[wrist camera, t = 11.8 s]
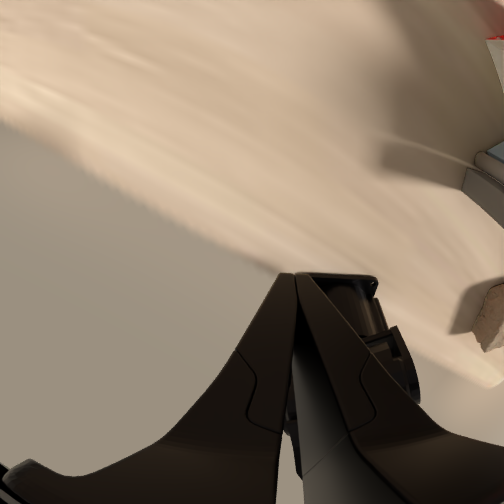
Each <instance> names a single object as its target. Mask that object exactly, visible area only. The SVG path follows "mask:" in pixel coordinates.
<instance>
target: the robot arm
mask: <svg viewBox="0 0 504 504" xmlns="http://www.w3.org/2000/svg"><path fill="white" fill-rule="evenodd" d="M372 282H374V283H373V284H371V283H372ZM377 287H378V280H377V278H376V277H364V276H342V275H322V274H295V275H293V274H292V273H279V275H278V276H277V278H276V280H275V282H274V283H273V285H272V287H271V289H270V291H269V292H268V294H267V296H266V297H265V299H264V301H263V303H262V304H261V306H260V308H259V309H258V311H257V313H256V315H255V316H254V318H253V320H252V321H251V323H250V325H249V327H248V328H247V330H246V331H245V333H244V335H243V337H242V338H241V340H240V342H239V343H238V345H237V347H236V348H235V351H233V353H232V355H231V356H230V358H229V359H228V361H227V363H226V364H225V366H224V367H223V369H222V370H221V372H220V373H219V375H218V376H217V377H216V379H215V380H214V381H213V382H212V384H211V385H210V386H209V387H208V389H207V390H206V391H205V392H204V393H203V395H202V396H201V397H200V398H199V399H198V400H197V401H196V402H195V404H194V405H193V406H192V407H191V408H190V409H189V410H188V412H187V413H186V414H185V415H184V416H183V417H182V418H181V419H180V420H179V422H178V423H177V424H176V425H175V426H174V427H173V428H172V429H171V430H170V431H169V432H168V433H167V434H166V435H165V436H163V437H162V438H161V439H160V440H158V441H157V442H155V443H154V444H152V445H150V446H148V447H146V448H144V449H142V450H140V451H138V452H136V453H134V454H132V455H130V456H128V457H126V458H124V459H122V460H120V461H118V462H116V463H114V464H111V465H110V466H107V467H105V468H103V469H101V470H98V471H96V472H93V473H90V474H87V475H84V476H76V477H72V476H64V475H61V474H58V473H56V472H54V471H52V470H51V469H49V468H47V467H45V466H43V465H41V464H40V463H38V462H36V461H34V460H32V459H27V460H25V461H23V462H22V463H20V464H18V465H16V466H14V467H13V468H11V469H9V468H8V467H6V466H5V465H3V464H2V463H0V504H276V493H277V481H278V467H279V456H280V448H281V441H282V434H283V430H284V432H285V433H286V434H287V435H288V436H290V437H291V441H292V446H293V451H294V458H295V466H296V472H297V474H298V476H299V477H300V478H301V479H302V481H303V491H304V504H504V447H503V446H499V445H494V444H490V443H486V442H482V441H479V440H475V439H471V438H468V437H464V436H461V435H457V434H454V433H451V432H449V431H447V430H445V429H444V428H442V427H440V426H439V425H438V424H436V422H434V421H433V420H432V419H431V418H430V417H429V416H428V415H427V414H426V412H425V411H424V410H423V409H422V408H421V407H420V406H419V405H418V404H420V387H419V382H418V377H417V373H416V369H415V366H414V363H413V360H412V358H411V355H410V353H409V351H408V349H407V346H406V344H405V342H404V340H403V338H402V336H401V333H400V331H399V329H398V327H397V325H396V326H394V327H391V328H390V329H389V328H388V325H387V322H386V319H385V316H384V314H383V311H382V308H381V305H380V303H379V300H378V299H377V298H374V295H375V292H376V289H377Z"/></svg>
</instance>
